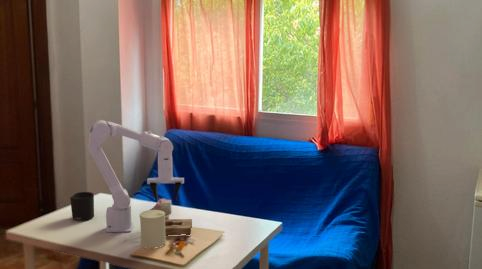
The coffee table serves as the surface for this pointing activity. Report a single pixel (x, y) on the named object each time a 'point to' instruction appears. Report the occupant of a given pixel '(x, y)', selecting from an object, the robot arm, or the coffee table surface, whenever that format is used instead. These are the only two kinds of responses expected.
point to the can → (152, 228)
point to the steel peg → (166, 208)
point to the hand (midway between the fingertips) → (166, 200)
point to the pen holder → (82, 206)
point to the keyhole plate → (178, 226)
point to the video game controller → (158, 205)
